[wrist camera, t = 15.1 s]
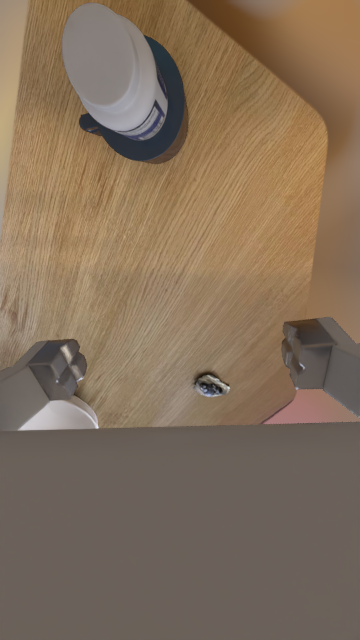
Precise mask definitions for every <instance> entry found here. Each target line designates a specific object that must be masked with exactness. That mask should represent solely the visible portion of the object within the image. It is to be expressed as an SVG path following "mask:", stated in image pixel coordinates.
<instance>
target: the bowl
mask: <svg viewBox="0 0 360 640" xmlns="http://www.w3.org/2000/svg"><path fill="white" fill-rule="evenodd" d="M97 424H98V422H97V417H96V414H95V413H94V411H93V410H92V408H91V407H90V406H89V405H88V404H86V403H85V402H84V401H82V400H81V399H80V398H78V397H76V396H75V395H73V396H72V398H71V399H68V400H54V401H50V403H49V404H47V405H46V406H45V407H44V408H43V409H42V410H40V411H39V412H38V413H37V414H36V415H35V416H34V417H32V418H31V419H30V420H29V421H28V422H27V423H25V424H24V425H23V426H22V427H21V428H20V429H19V430H58V429H97V428H98V425H97ZM19 430H17V431H19Z"/></svg>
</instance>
